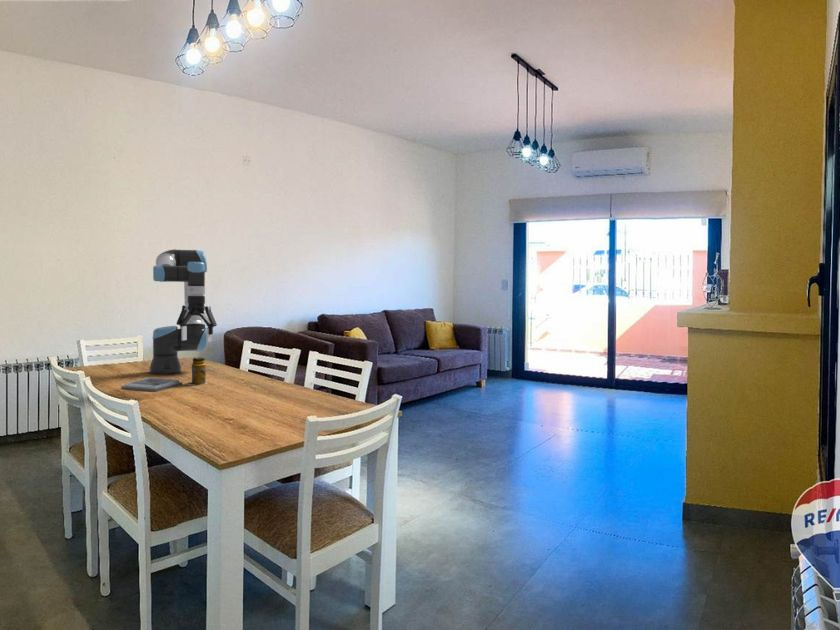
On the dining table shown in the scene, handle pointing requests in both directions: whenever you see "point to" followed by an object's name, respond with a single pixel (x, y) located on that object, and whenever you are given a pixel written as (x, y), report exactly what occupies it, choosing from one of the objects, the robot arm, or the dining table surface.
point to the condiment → (198, 372)
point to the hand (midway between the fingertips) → (196, 341)
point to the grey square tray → (152, 384)
